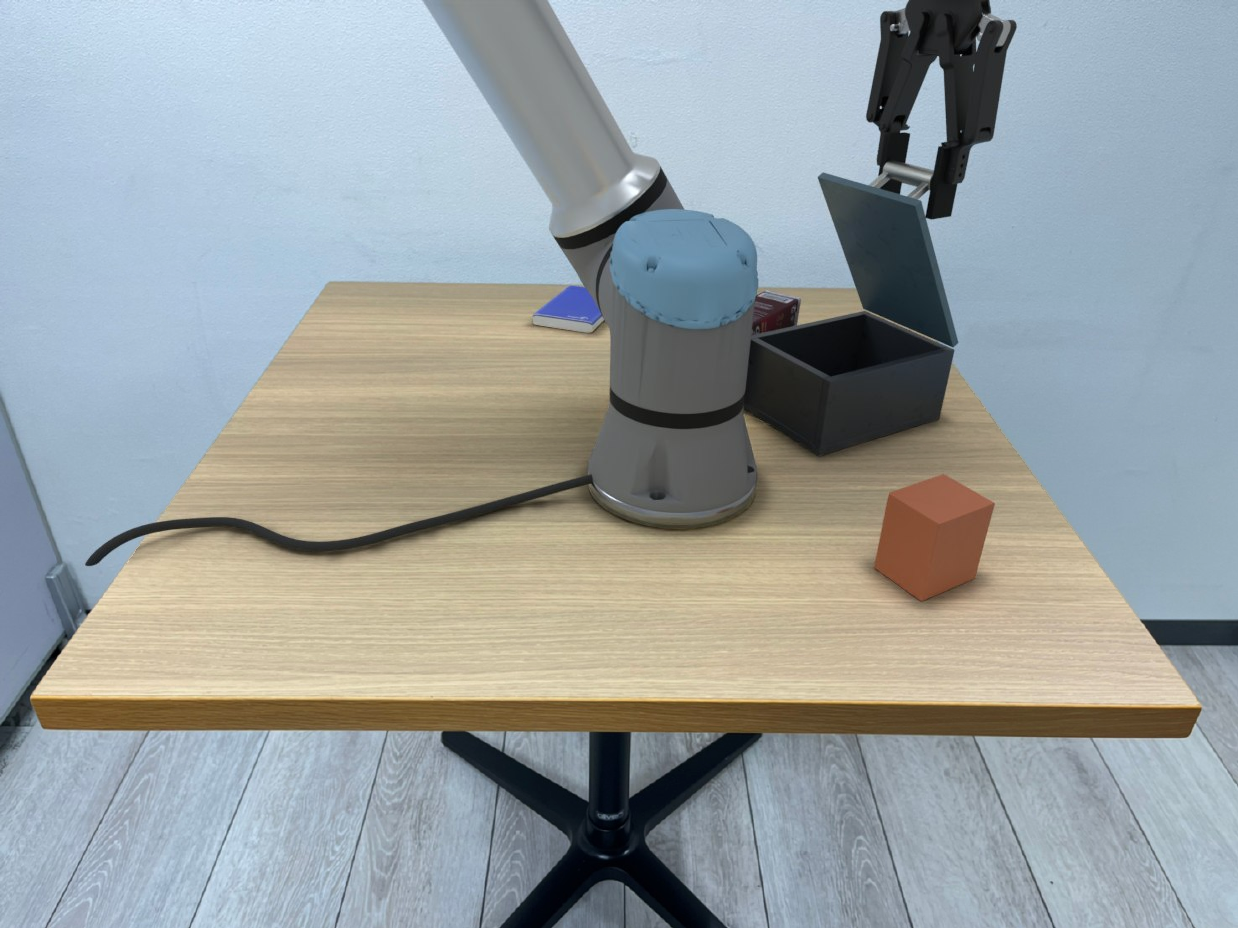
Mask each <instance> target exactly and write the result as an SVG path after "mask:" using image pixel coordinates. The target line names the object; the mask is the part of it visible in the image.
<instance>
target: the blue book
mask: <svg viewBox="0 0 1238 928" xmlns="http://www.w3.org/2000/svg"><path fill="white" fill-rule="evenodd" d="M604 321H605V320H604V318H603V316H602V314H601V312H600V310H599V308H598V307H597V305H596V303H595V301H594V300H593V298H592V296H591V295H590V294H589V292H588V291H587V290H586V288H585V287H584V286H578V285H568V286H567V287H566V288H565V289H564V290H563V291H560V292H559V294H557V295H556V296H555V297H553V298H551V300H549V301H548V302H547V303H546V304H544V305H543V306H542V307H541V308H539V309H538V310H536V312H533V314H532V324H534V325H536V326H541V327H548V328H552V329H560V330H567V331H571V332H572V331H573V332H579V333H585V334H591V333H593V332H594V331H595V330H596V329H597V328H598V327H599V326H600V325H601V324H602V323H603V322H604Z"/></svg>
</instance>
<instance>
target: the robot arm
mask: <svg viewBox="0 0 1238 928" xmlns="http://www.w3.org/2000/svg"><path fill="white" fill-rule="evenodd" d="M421 1H422V2H423V5H424V6H425V7H426V9H427V10H428V12H429V14H430V15H431V16H432V18H433V20H434V21H435V23H436V24H437V26H438V27H439V29H440V30H441V32H442V34H443V36H444V37H445V38H446V40H447V42H448V43H449V45H450V47H451V48H452V50H453V51H454V53H455V55H456V56H457V57H458V59H459V60H460V63H461V64H462V65H463V67H464V69H465V70H466V72H467V73H468V75H469V76H470V78H471V80H472V82H474V84H475V86H476V87H477V89H478V91H479V93H481V95H482V97H483V98H484V100H485V101H486V103H487V104H488V106H489V108H490V110H492V113H493V114H494V116H496V119H497V120H498V122H499V123H500V124H501V126H502V128H503V130H504V131H505V133H506V135H507V136H508V138H509V139H510V141H511V142H512V144H513V146H514V147H515V149H516V150H517V152H518V153H519V155H520V156H521V158H522V160H523V161H524V162H525V164H526V166H527V167H528V169H529V170H530V172H531V173H532V175H533V177H534V178H535V180H536V182H537V183H538V185H539V186H540V188H541V189H542V191H543V192H544V194H545V195H546V197H547V198H548V200H549V202H550V204H551V208H552V209H551V214H550V216H549V217H550V218H549V222H548V231H549V232H550V234H551V236H552V237H553V239H554V240H555V242H556V244H557V246H558V247H559V248H560V250H561V251H562V254H564V256H565V258H566V259H567V261H568V262H569V263H570V265H571V267H572V268H573V270H574V272H575V273H576V275H577V276H578V279H579V280H580V282H581V284H582V285H583V287H585V288H586V290H587V291H588V292H589V294H590V295H591V296H592V298H593V300H594V301H595V303H596V305H597V307H598V308H599V310H600V312H601V314H602V316H603V318H604V321H605V324H606V326H607V327H608V330H609V336H610V339H609V340H610V348H609V349H610V350H609V351H610V352H609V355H610V356H609V400H608V401H609V403H608V408H607V410H606V413H605V416H604V419H603V421H602V422H601V423H602V424H601V426H600V429H599V432H598V435H597V438H596V441H595V443H594V447H593V449H592V451H591V452H590V454H589V459H588V464H587V475H583V476H579V477H576V478H572V479H568V480H564V481H559V482H557V483H553V484H550V485H547V486H543V487H539V488H536V489H532V490H529V491H525V492H522V493H518V494H514V495H511V496H507V497H504V498H500V499H497V500H493V501H490V502H486V503H482V504H479V505H475V506H472V507H468V508H465V509H461V510H457V511H453V512H449V513H445V514H440V515H437V516H433V517H430V518H425V519H421V520H417V521H413V522H409V523H406V524H402V525H398V526H395V527H390V528H388V529H385V530H380V531H377V532H374V533H371V534H366V535H361V536H357V537H352V538H346V539H338V540H337V539H336V540H325V541H322V540H321V541H316V540H315V541H314V540H301V539H297V538H296V539H295V538H293V537H288V536H285V535H282V534H280V533H279V532H278V533H277V532H276V531H273V530H271V529H269V528H267V527H264V526H262V525H260V524H258V523H255V522H253V521H249V520H246V519H243V518H237V517H228V516H209V517H193V518H190V517H189V518H179V519H178V518H177V519H169V520H162V521H156V522H150V523H147V524H141V525H139V526H136V527H133V528H130V529H128V530H125V531H123V532H121V533H119V534H118V535H116V536H114V537H112V538H111V539H109V540H108V541H106V542H105V543H103V544H102V545H101V546H99V547H98V548H97V549H96V550H94V552H93V553H91V554H90V555H89V557H88V559H87V560H86V561H85V564H84V565H85V566H86V567H93V566H96V565H98V564H100V562H102V560H103V559H104V558H106V557H107V556H108V555H109V554H110V553H111V552H113V551H114V550H117V549H118V548H119V547H121V546H123V545H124V544H126V543H128V542H129V541H130V542H131V541H133V540H135V539H137V538H140V537H144V536H146V535H151V534H156V533H161V532H167V531H174V530H185V529H198V528H232V529H239V530H243V531H246V532H249V533H251V534H254V535H256V536H259V537H261V538H263V539H265V540H267V541H270V542H271V543H274V544H277V545H279V546H281V547H284V548H288V549H292V550H296V551H301V552H335V551H336V552H337V551H345V550H351V549H357V548H362V547H366V546H370V545H374V544H378V543H381V542H384V541H388V540H392V539H395V538H399V537H402V536H405V535H408V534H412V533H416V532H420V531H424V530H428V529H432V528H435V527H436V528H437V527H439V526H443V525H444V526H445V525H448V524H451V523H455V522H459V521H464V520H467V519H470V518H474V517H477V516H481V515H484V514H488V513H491V512H494V511H498V510H502V509H505V508H509V507H511V506H516V505H519V504H523V503H527V502H529V501H533V500H538V499H541V498H543V497H546V496H550V495H554V494H558V493H562V492H564V491H568V490H572V489H577V488H580V487H584V486H587V487H588V491H589V492H590V494H591V497H592V498H593V499H594V501H596V502H597V504H598V505H600V507H602V508H603V509H605V510H606V511H607V512H609V513H612V514H613V515H615V516H617V517H619V518H621V519H624V520H626V521H628V522H632V523H634V524H639V525H643V526H647V527H651V528H652V527H653V528H659V529H660V528H661V529H669V530H670V529H672V530H679V529H680V530H684V529H685V530H687V529H698V528H704V527H710V526H714V525H717V524H721V523H724V522H727V521H730V520H731V519H734V518H736V517H738V516H739V515H741V514H742V513H743V512H745V511H746V510H747V509H748V508H749V507H750V506H751V504H752V503H753V501H754V499H755V496H756V491H757V482H758V470H757V467H758V466H757V462H756V459H755V456H754V455H755V454H754V449H753V446H752V442H751V439H750V435H749V431H748V427H747V423H746V417H745V415H744V397H745V389H746V379H747V370H748V361H749V351H750V342H751V333H752V323H753V314H754V305H755V297H756V295H758V289H759V281H760V280H759V272H758V253H757V247H756V244H755V242H754V241H753V239H752V237H751V236H750V235H749V233H748V232H747V231H746V230H745V229H743V228H742V227H741V226H739V225H738V224H737V223H735V222H733V221H731V220H729V219H727V218H724V217H719V218H718V217H715V216H714V215H713V213H709V212H704V211H699V210H694V209H685V208H684V206H683V203H682V202H681V200H680V199H679V196H678V194H677V193H676V192H675V191H676V190H674V188H673V186H672V184H671V182H670V181H669V178H668V177H667V175H666V173H665V171H664V170H663V168H662V166H661V165H660V163H659V161H658V159H656V158H655V157H652V156H647V155H644V154H639V153H636V152H634V151H633V150H632V148H631V146H630V143H629V142H628V141H627V139H626V137H625V135H624V133H623V132H622V130H621V128H620V127H619V125H618V123H617V121H616V119H615V117H614V116H613V113H612V112H611V110H610V109H609V106H608V105H607V103H606V101H605V100H604V98H603V96H602V94H601V92H600V90H599V89H598V87H597V86H596V84H595V82H594V80H593V78H592V76H591V75H590V72H589V71H588V69H587V67H586V66H585V63H584V62H583V60H582V59H581V57H580V55H579V53H578V52H577V49H576V48H575V46H574V44H573V42H572V41H571V39H570V37H569V35H568V34H567V32H566V30H565V28H564V26H563V24H562V23H561V21H560V20H559V17H558V16H557V14H556V12H555V11H554V9H553V7H552V4H551V3H550V1H549V0H421ZM879 28H880V30H879V31H880V42H879V47H878V52H877V57H876V61H875V62H876V63H875V68H874V72H873V77H872V83H871V87H870V93H869V98H868V104H867V109H866V113H865V119H866V122H868V123H873V124H874V125H875V126H876V127H878V131H879V140H878V147H877V154H876V166H878V167H879V168H878V175H877V177H878V176H880V175H881V174H882V173H883V167H884V165H885V164H886V162H888V161H889V160H895V161H899V162H903V163H907V162H906V161H907V155H908V150H909V143H910V138H911V133H910V132H901V131H908V130H909V129H910V128H911V126H910V125H909V124H907V122H908V120H909V118H910V115H911V112H912V110H913V108H914V105H915V103H916V100H917V98H918V95H919V93H920V90H921V88H922V86H923V83H924V81H925V79H926V76H927V74H928V71H929V69H930V66H931V65H932V64H933V63H934V62H935V61H936V60H937V58H938V64H939V67H940V69H942V71H943V91H944V109H945V110H944V113H945V133H946V141H943V142H940V145H939V146H938V147H937V151H936V157H935V161H934V162H935V163H934V168H933V170H934V172H933V178H932V183H931V189H930V190H929V195H928V200H927V206H926V211H925V217H926V220H938V219H944V218H949V217H952V215H953V214H952V213H953V208H954V204H955V198H956V193H957V188H958V184H962V183H963V182H964V180H965V177H966V173H967V172H966V171H967V167H968V162H969V158H970V153H971V149H972V148H973V147H974V146H975V145H978V144H982V143H983V144H984V143H989V142H991V141H992V140H993V138H994V134H995V129H996V123H997V116H998V110H999V104H1000V98H1001V92H1002V85H1003V80H1004V72H1005V66H1006V59H1007V52H1008V49H1009V47H1010V45H1011V42H1012V40H1013V38H1014V35H1015V33H1016V31H1017V28H1018V25H1017V22H1016V21H1015V20H1013V19H1001V18H1000V17H997V16H996V15H994V14H992V7H991V1H990V0H907V2H906V5H905V7H903V8H901V9H898V10H884V11H882V13H881V14H880V16H879ZM977 41H979V42H978V45H977ZM902 186H903V183H901V182H897V181H893V180H888V181H887V182H886V183H885V184H884V185H883V186H881V187H880V188H879V189H883V190H886V191H890V192H893V193H897V194H900V195H901V191H902Z"/></svg>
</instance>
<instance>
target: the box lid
mask: <svg viewBox="0 0 1238 928" xmlns="http://www.w3.org/2000/svg"><path fill="white" fill-rule="evenodd" d="M933 172H934V169H931V168H928V167H927V168H926V167H923V166H918V165H915V164H910V163H908V162H905V163H903V162H899V161H895V160H889V161H888V162H886V164H885V165H884V167H883V173H882V174H881V175H880V176H878V175H877V177H876V178H875V179H874V180H873V181H871V182H870V183H869V184H865V183H862V182H859V181H854V180H852V179H848V178H844V177H841V176H837V175H834V174H831V173H827V172H824V171H823V172H821V174H819V175H818V176H817V180H818V183H819V186H820V189H821V193H822V194H823V198H824V200H825V203H826V206H827V208H828V212H829V215H830V218H831V221H832V223H833V226H834V229H835V232H836V235H837V237H838V240H839V244H840V246H841V249H842V252H843V255H844V258H845V260H846V264H847V266H848V269H849V272H850V275H851V277H852V282H853V283H854V286H855V289H856V293H857V295H858V299H859V301H860V303H861V307H862V309H863V310H864V311H867V312H869V313H871V314H873V315H876V316H878V317H880V318H883V319H885V320H887V321H890V322H892V323H894V324H896V325H899V326H901V327H903V328H906V329H908V330H910V331H913V332H915V333H917V334H920V335H922V336H924V337H927V338H929V339H931V340H933V341H936V342H938V343H940V344H943V345H945V346H947V347H950V348H954V347H956V346H957V345H958V344H959V339H958V336H957V332H956V328H955V324H954V320H953V316H952V313H951V309H950V308H951V307H950V305H949V301H948V297H947V294H946V290H945V285H944V281H943V278H942V274H941V270H940V268H939V262H938V259H937V255H936V251H935V248H934V243H933V240H932V236H931V232H930V229H929V225H928V221H927V218H926V217H925V216H926V212H925V209H924V205H923V201H922V200H921V198H922V197H923V196H924V195H925V194H926V193H927V192H928V191H930V189H931V183H932V178H933ZM888 180H893V181H897V182H901V183H902V184H905V185H908V186H912V187H915V188H914V189H913V190H912V191H911V192H910V193H909V194H907V195H903V194H901V193H900V194H897V193H893V192H890V191H886V190H883V189H879V188H880V187H881V186H883V185H884V184H885V183H886V182H887V181H888Z"/></svg>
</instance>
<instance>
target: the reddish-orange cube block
mask: <svg viewBox="0 0 1238 928" xmlns="http://www.w3.org/2000/svg"><path fill="white" fill-rule="evenodd" d="M995 505H996V503H995V502H994V501H992V500H990V499H989V498H987V497H985V496H983V495H981V494H980V493H978V492H976V491H975V490H973V489H971V488H969V487H968V486H966V485H964V484H962V483H961V482H958V481H956V480H955V479H954V478H952V477H950V476H948V475H947V474H944V473H941V474H939V475H936V476H933V477H929V478H927V479H923V480H921V481H918V482H916V483H913V484H909V485H906V486H904V487H901V488H899V489H895V490H893V491H892V490H891V491H889V492H888V494H887V500H886V504H885V510H884V513H883V514H884V515H883V519H882V525H881V532H880V535H879V540H878V544H877V545H878V546H877V550H876V555H875V560H874V565H873V566H874V567H873V568H874V569H875V570H876V571H878V572H879V573H880V574H882V575H884V576H885V577H886V578H888V579H889V580H891V581H892V582H893V583H895V584H896V585H898V586H899V587H901V588H902V589H903V590H904V591H906V592H907V593H909V594H910V595H911V596H913V597H914V598H916V599H917V600H918V601H920V602H924V601H926V600H928V599H930V598H933V597H935V596H937V595H939V594H942V593H945V592H946V591H949V590H951V589H953V588H954V589H955V588H957V587H958V586H961V585H963V584H966V583H968V582H970V581H972V580H974V579H976V577H977V572H978V569H979V565H980V562H981V557H982V553H983V551H984V546H985V542H986V539H987V538H986V537H987V534H988V530H989V528H990V523H991V520H992V516H993V512H994V509H995Z"/></svg>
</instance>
